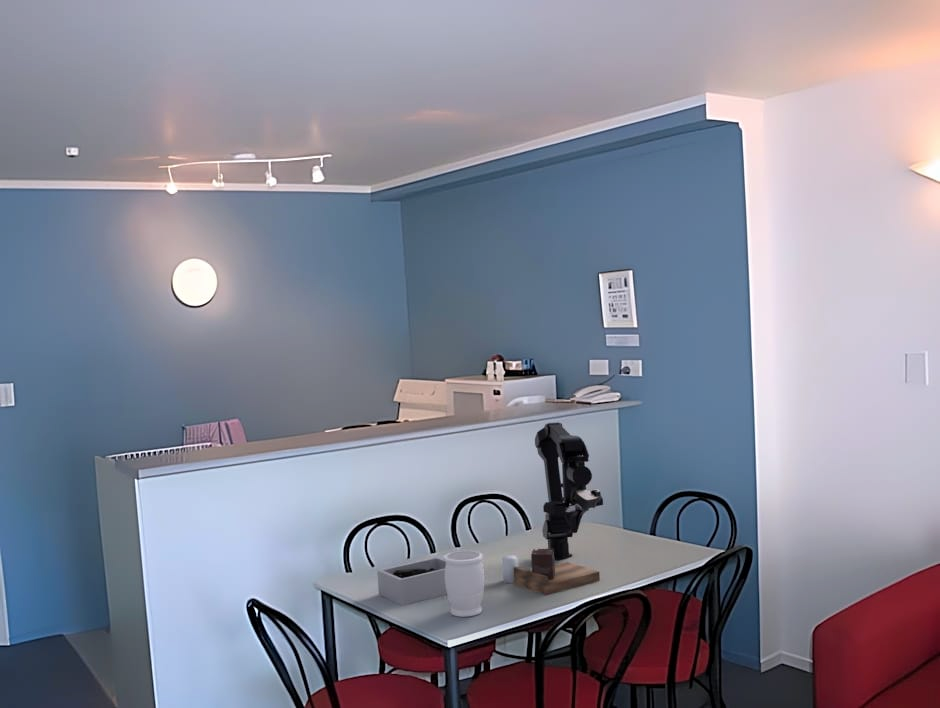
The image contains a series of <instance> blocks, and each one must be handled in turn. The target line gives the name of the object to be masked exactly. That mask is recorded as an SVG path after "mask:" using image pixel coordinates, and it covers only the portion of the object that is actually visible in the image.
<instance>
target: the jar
mask: <svg viewBox="0 0 940 708" xmlns="http://www.w3.org/2000/svg"><path fill="white" fill-rule="evenodd" d="M443 559H444V561H445V562H446V566H445V586H446V591H447V594H446V595H447V599H448V602H449V604H450V606H451V608H450V610H449V611H450V614H451V615H452V616H454V617H460V618H466V617H467V618H468V617H470V618H471V617H474V616H477V615H479V614H481V613H482V612H483V608H482V606H481V603H482V601H483V599H484V588H485V570H484V566H483V562H482V561H483V560H484V554H483V553H482V552H481V551H477V550H476V551H475V550H458V551H453V552H449V553H446V554H445V555H443Z"/></svg>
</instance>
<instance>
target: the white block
mask: <svg viewBox="0 0 940 708" xmlns="http://www.w3.org/2000/svg"><path fill="white" fill-rule="evenodd" d="M501 561H502V563H501V564H502V579H503V580H502V581H503V583H504V584H514V567H516V566H517V567H519V565H518V561H519V560H518V556H517V555H512V554H511V555H510V554H508V555H503V556H502V559H501Z"/></svg>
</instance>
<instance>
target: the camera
mask: <svg viewBox="0 0 940 708" xmlns="http://www.w3.org/2000/svg"><path fill="white" fill-rule="evenodd" d="M436 570H439V569H435V570H434V568H430V569H429V570H426V569H421V568H420V569H407V570H396V571H395V572H394V573H393V575H394V576H397V577H399V578H406V577H410V576H415V575H419V574H423V573H428V572H432V571H436Z"/></svg>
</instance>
